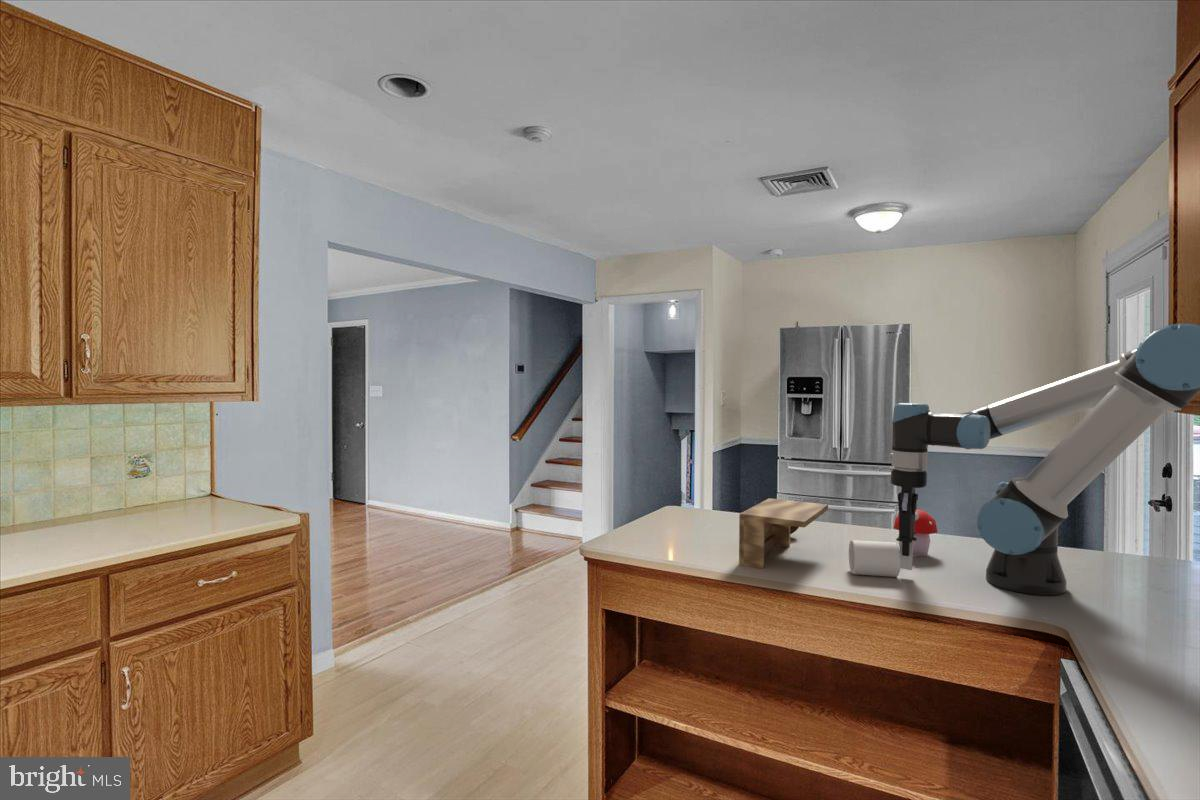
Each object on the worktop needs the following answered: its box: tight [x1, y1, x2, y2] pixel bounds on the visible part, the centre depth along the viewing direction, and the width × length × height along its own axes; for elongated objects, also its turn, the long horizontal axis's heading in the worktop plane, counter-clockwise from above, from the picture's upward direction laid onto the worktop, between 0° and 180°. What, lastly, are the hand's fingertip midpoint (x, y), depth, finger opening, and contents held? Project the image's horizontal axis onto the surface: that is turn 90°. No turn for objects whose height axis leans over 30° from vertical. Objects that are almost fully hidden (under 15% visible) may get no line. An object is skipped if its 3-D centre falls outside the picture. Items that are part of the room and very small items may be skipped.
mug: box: [848, 539, 901, 578], centre depth 151 cm, size 12×10×8 cm
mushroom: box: [893, 509, 938, 557], centre depth 167 cm, size 11×11×12 cm
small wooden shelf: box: [738, 498, 829, 569], centre depth 162 cm, size 16×24×13 cm, turn 147°
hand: (905, 568), depth 147 cm, fingers closed
